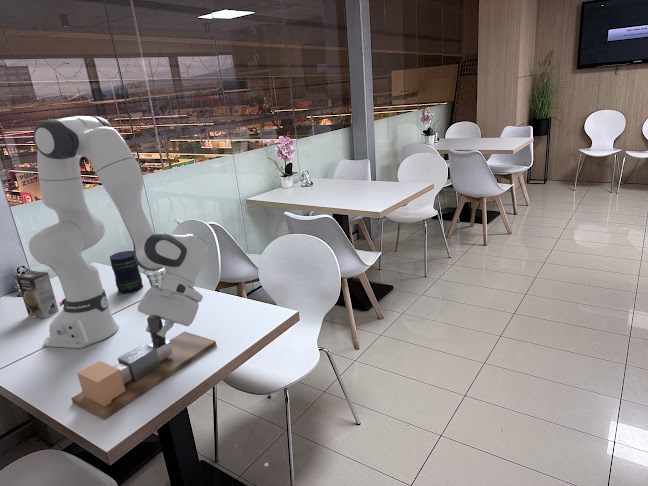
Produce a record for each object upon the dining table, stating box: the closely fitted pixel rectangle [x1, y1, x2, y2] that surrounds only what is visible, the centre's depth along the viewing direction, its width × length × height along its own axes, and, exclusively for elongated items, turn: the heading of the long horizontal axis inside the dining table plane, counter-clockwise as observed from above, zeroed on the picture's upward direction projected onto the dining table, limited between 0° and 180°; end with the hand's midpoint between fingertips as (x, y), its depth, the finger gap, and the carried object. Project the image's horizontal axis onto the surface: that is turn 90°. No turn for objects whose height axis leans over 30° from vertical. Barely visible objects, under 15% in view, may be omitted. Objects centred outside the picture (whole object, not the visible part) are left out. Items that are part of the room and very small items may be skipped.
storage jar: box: [109, 250, 144, 295], centre depth 187 cm, size 10×10×15 cm
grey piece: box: [112, 315, 173, 384], centre depth 123 cm, size 21×4×12 cm, turn 147°
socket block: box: [76, 360, 125, 407], centre depth 116 cm, size 6×9×7 cm, turn 57°
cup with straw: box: [143, 268, 166, 287], centre depth 178 cm, size 8×9×20 cm
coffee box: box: [15, 270, 60, 319], centre depth 170 cm, size 9×6×16 cm
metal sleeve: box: [117, 343, 161, 383], centre depth 125 cm, size 8×6×6 cm
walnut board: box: [70, 331, 217, 421], centre depth 128 cm, size 37×14×2 cm, turn 147°
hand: (154, 334), depth 128 cm, fingers closed on grey piece, 3 cm apart
